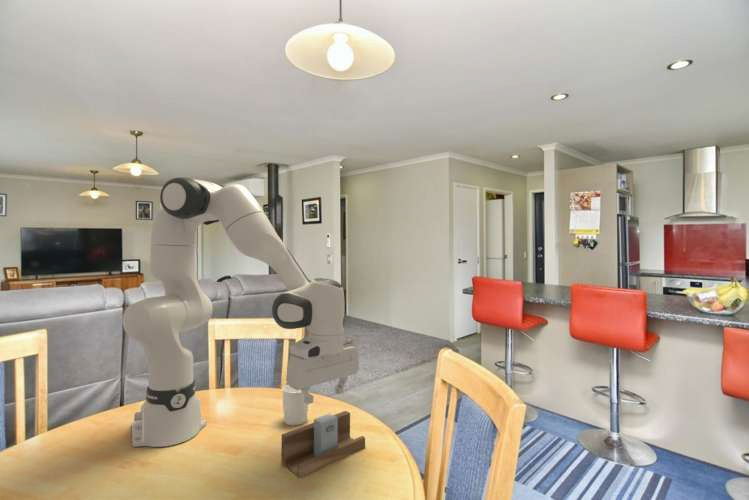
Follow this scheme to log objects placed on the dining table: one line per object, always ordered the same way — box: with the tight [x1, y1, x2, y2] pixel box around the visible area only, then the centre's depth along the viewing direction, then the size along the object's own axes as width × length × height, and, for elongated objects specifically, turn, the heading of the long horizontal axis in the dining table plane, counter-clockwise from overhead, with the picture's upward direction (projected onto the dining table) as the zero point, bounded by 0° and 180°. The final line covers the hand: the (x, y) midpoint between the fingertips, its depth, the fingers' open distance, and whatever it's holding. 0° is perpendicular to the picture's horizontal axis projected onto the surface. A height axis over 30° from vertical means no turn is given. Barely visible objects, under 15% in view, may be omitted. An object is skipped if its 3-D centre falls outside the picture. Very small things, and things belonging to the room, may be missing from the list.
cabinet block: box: [313, 413, 338, 456], centre depth 98 cm, size 4×5×9 cm
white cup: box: [281, 384, 310, 426], centre depth 117 cm, size 8×8×10 cm
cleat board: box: [281, 410, 366, 479], centre depth 98 cm, size 8×20×7 cm, turn 134°
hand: (324, 398), depth 98 cm, fingers open, 8 cm apart
